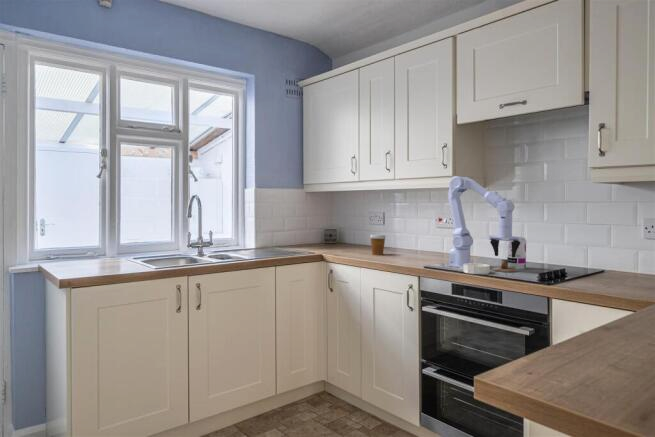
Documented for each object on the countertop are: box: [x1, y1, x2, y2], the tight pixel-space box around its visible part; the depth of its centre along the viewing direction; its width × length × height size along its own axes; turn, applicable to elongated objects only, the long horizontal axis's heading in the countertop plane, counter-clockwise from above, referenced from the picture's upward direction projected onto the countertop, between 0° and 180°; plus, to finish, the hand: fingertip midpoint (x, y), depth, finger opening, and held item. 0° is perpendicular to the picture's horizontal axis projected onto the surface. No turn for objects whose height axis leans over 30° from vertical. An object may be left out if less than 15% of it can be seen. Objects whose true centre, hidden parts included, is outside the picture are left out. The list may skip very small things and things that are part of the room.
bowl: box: [462, 262, 491, 275], centre depth 206 cm, size 11×11×4 cm
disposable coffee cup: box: [369, 233, 386, 256], centre depth 275 cm, size 10×10×12 cm
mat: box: [490, 267, 521, 275], centre depth 211 cm, size 14×10×1 cm
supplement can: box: [506, 236, 527, 270], centre depth 219 cm, size 8×8×15 cm
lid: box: [492, 259, 518, 273], centre depth 210 cm, size 10×10×5 cm
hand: (504, 256), depth 210 cm, fingers open, 7 cm apart
